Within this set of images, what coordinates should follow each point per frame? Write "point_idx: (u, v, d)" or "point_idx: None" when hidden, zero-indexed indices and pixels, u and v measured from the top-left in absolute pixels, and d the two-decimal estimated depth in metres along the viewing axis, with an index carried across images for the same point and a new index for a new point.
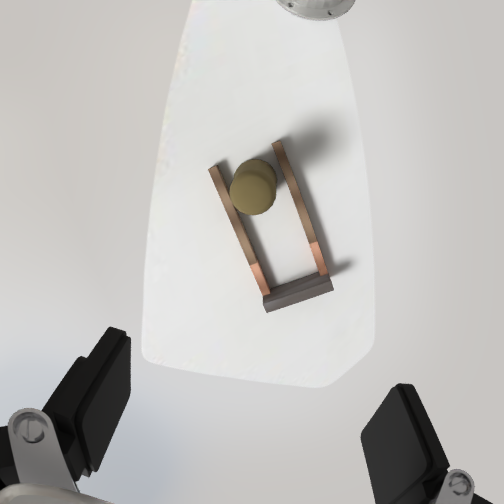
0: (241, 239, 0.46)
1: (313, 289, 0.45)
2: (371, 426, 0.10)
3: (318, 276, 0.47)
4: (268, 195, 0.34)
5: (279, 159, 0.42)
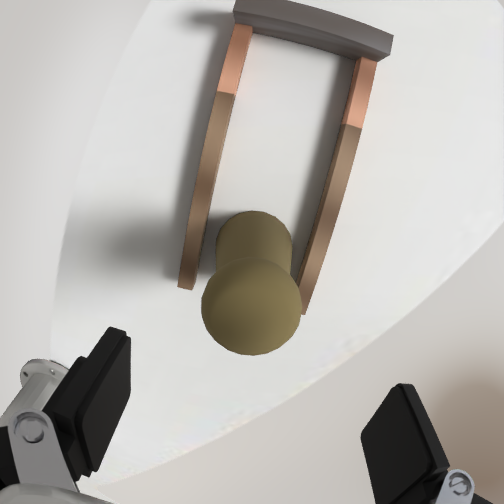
0: (342, 181, 0.22)
1: (277, 12, 0.16)
2: (371, 426, 0.10)
3: (256, 26, 0.18)
4: (220, 303, 0.15)
5: (194, 263, 0.24)
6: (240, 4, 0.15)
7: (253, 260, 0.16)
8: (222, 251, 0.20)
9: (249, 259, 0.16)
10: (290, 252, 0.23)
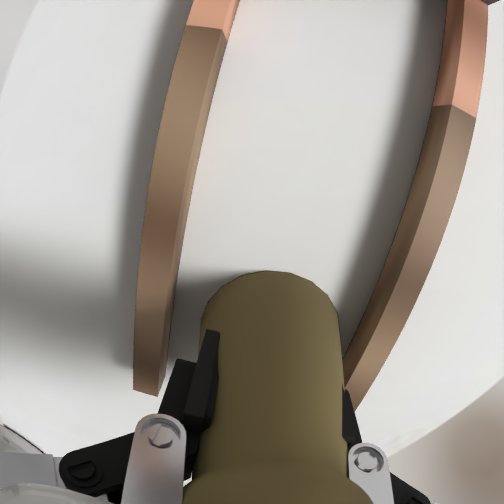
0: (439, 220, 0.10)
1: None
2: None
3: None
4: None
5: (156, 360, 0.13)
6: None
7: None
8: None
9: None
10: None
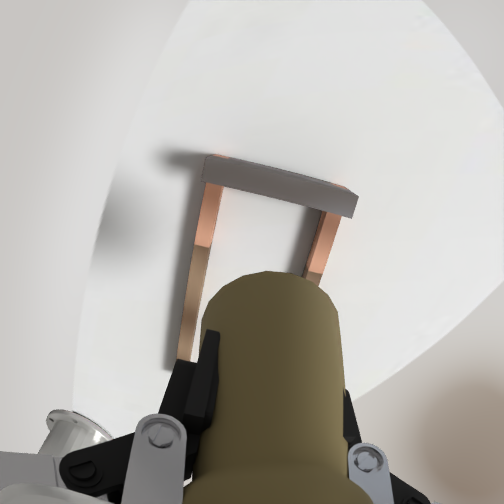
0: None
1: (243, 183, 0.21)
2: None
3: None
4: None
5: None
6: (207, 174, 0.20)
7: None
8: None
9: None
10: (342, 358, 0.11)
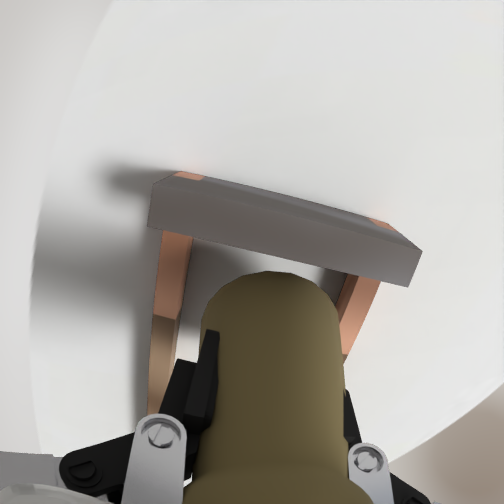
0: None
1: (222, 231, 0.11)
2: None
3: None
4: None
5: None
6: (158, 214, 0.11)
7: None
8: None
9: None
10: None
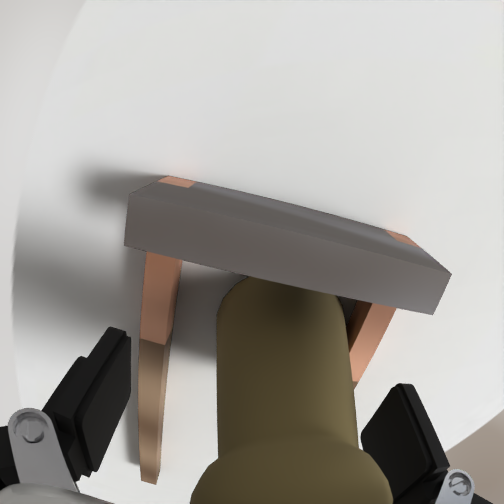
0: None
1: (213, 252, 0.09)
2: (371, 427, 0.10)
3: None
4: None
5: (153, 471, 0.18)
6: (135, 232, 0.09)
7: (303, 470, 0.05)
8: (227, 371, 0.10)
9: (293, 467, 0.05)
10: None
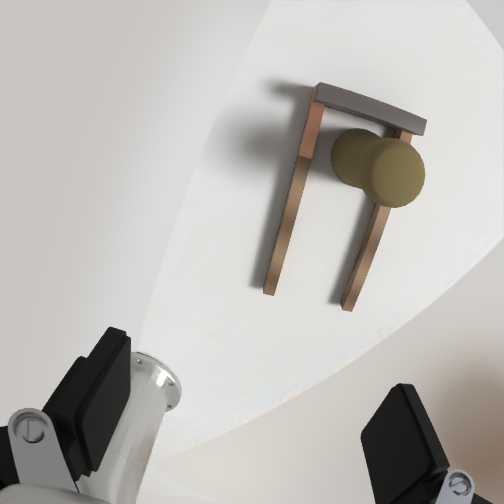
0: (382, 222, 0.31)
1: (348, 103, 0.24)
2: (371, 427, 0.10)
3: (328, 105, 0.27)
4: (381, 160, 0.20)
5: (277, 277, 0.34)
6: (321, 94, 0.24)
7: (393, 138, 0.20)
8: (352, 147, 0.25)
9: None
10: None
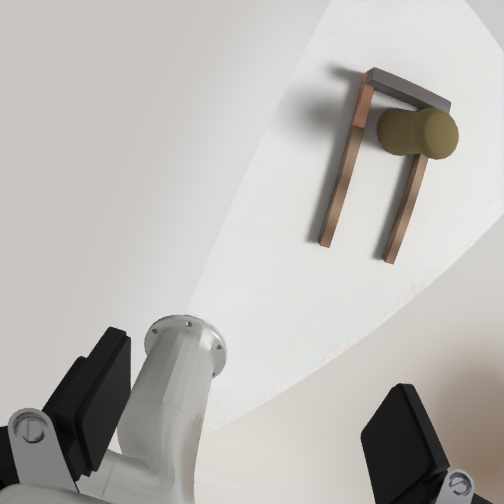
0: (418, 183, 0.35)
1: (394, 84, 0.29)
2: (371, 426, 0.10)
3: (376, 87, 0.31)
4: (430, 120, 0.24)
5: (333, 229, 0.38)
6: (376, 76, 0.29)
7: (434, 108, 0.25)
8: (399, 118, 0.30)
9: None
10: None
